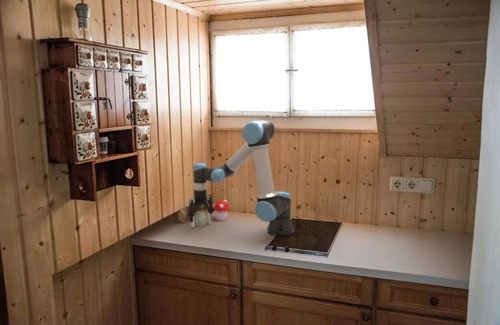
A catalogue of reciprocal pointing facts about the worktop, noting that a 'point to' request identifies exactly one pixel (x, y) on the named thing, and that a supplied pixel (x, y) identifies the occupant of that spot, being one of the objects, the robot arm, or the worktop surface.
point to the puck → (201, 219)
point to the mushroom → (221, 209)
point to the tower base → (185, 218)
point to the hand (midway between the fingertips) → (201, 225)
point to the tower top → (184, 210)
